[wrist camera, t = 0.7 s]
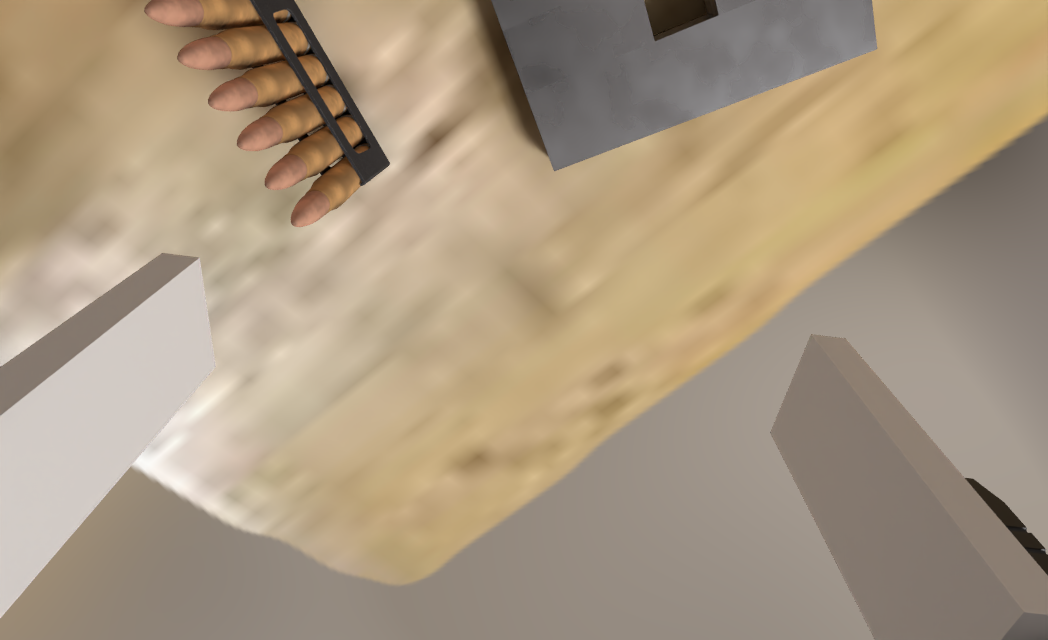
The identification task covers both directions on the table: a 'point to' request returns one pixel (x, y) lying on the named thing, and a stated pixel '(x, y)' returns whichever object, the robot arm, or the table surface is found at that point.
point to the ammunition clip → (282, 95)
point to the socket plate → (664, 62)
